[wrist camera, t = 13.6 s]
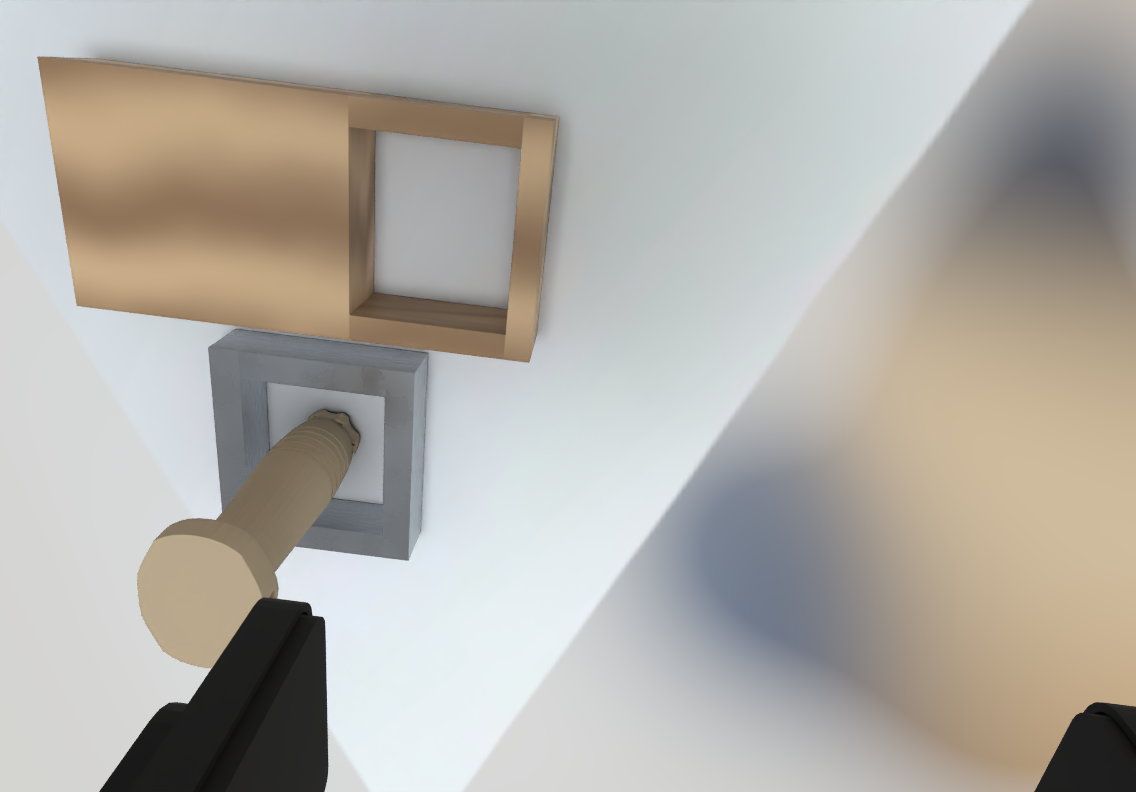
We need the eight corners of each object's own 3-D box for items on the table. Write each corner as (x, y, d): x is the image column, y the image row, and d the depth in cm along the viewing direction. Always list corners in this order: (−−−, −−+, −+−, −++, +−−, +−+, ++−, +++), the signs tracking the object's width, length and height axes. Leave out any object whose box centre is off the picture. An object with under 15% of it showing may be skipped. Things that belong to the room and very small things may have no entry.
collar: (235, 328, 40) (208, 347, 37) (428, 353, 40) (414, 373, 37) (248, 509, 45) (224, 537, 42) (420, 530, 45) (408, 560, 42)
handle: (291, 474, 43) (144, 658, 30) (292, 374, 41) (131, 525, 27) (372, 487, 44) (263, 677, 30) (378, 388, 41) (261, 546, 27)
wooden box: (97, 58, 35) (37, 56, 31) (559, 116, 35) (553, 121, 31) (126, 284, 39) (76, 305, 36) (536, 335, 39) (529, 362, 36)
